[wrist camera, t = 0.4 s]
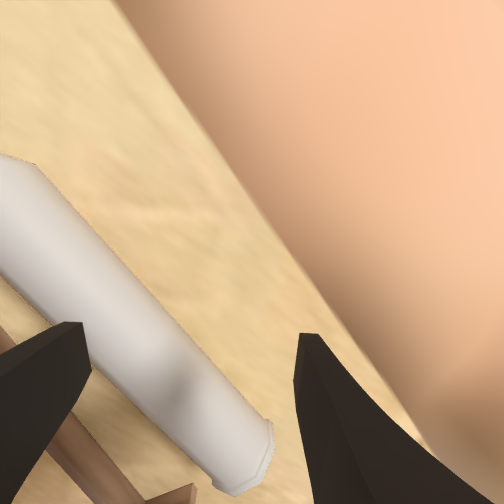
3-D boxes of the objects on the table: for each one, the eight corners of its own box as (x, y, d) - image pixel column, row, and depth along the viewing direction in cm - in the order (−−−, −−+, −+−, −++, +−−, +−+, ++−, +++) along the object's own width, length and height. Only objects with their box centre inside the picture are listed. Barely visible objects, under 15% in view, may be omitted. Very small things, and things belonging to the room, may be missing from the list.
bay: (142, 510, 26) (132, 545, 24) (-157, 155, 17) (-223, 154, 15) (197, 489, 25) (192, 523, 23) (-83, 111, 17) (-138, 103, 14)
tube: (-114, 205, 14) (206, 500, 20) (-84, 137, 12) (268, 494, 18) (-6, 179, 19) (229, 426, 25) (31, 126, 17) (281, 414, 23)
